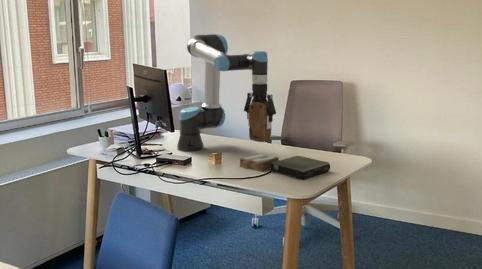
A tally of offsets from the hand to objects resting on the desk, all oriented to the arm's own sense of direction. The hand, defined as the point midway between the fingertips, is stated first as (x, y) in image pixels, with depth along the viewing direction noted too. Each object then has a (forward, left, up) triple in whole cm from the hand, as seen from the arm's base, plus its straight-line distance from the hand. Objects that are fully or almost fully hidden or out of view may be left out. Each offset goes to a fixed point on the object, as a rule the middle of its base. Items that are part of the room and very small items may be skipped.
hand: (259, 127), depth 265 cm
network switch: (+22, +4, -21) cm, 30 cm away
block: (0, 0, -7) cm, 7 cm away
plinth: (0, 0, -20) cm, 20 cm away
